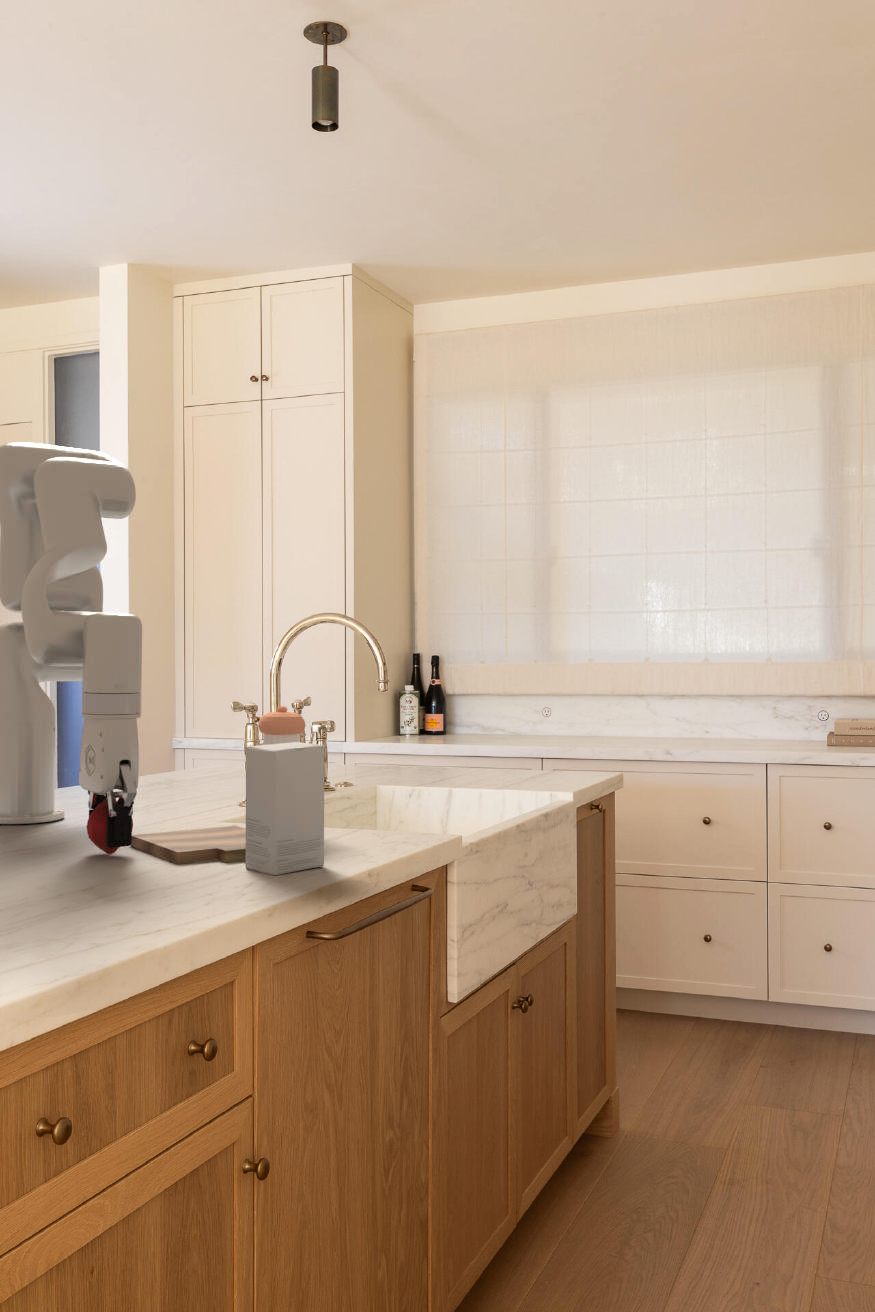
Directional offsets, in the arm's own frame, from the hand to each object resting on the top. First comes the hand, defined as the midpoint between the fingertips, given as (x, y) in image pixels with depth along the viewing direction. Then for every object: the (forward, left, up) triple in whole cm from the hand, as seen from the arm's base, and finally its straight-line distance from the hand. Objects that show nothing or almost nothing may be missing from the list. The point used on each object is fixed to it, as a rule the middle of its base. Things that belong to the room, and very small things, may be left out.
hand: (109, 841), depth 145 cm
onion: (0, 0, -2) cm, 2 cm away
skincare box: (+20, +15, -2) cm, 25 cm away
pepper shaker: (-3, +27, -2) cm, 27 cm away
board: (+4, +13, -2) cm, 14 cm away
